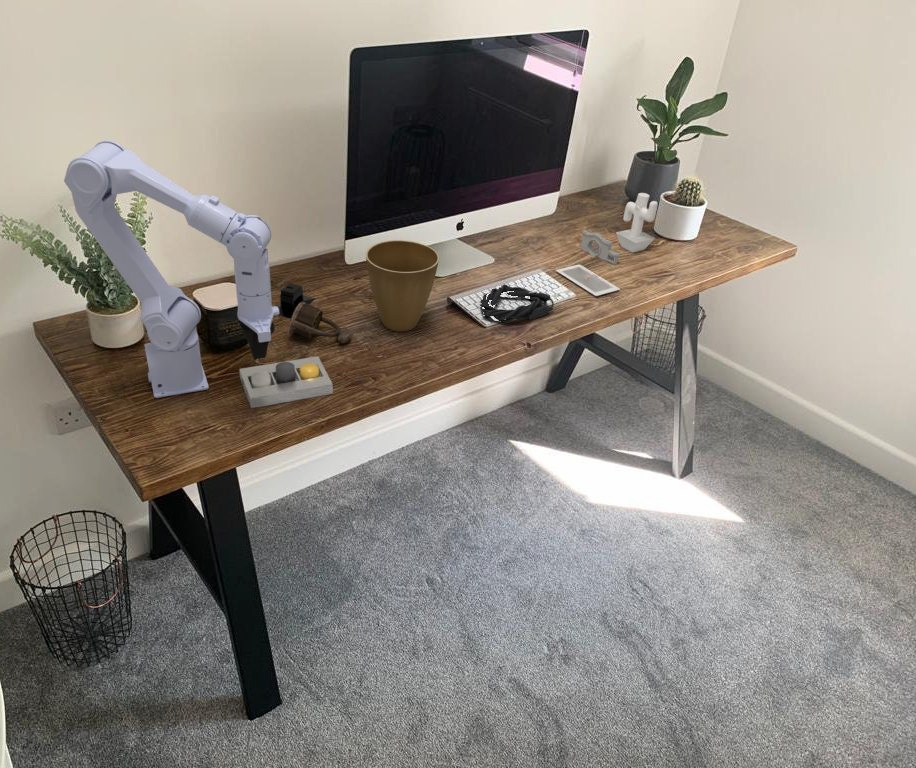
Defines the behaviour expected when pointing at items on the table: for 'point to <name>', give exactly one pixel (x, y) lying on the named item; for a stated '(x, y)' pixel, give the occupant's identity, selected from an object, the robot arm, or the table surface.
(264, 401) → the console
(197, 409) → the table surface
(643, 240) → the figurine
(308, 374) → the amber button
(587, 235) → the grey bracket plate
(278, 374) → the dark grey rounded block
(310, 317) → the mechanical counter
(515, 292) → the cable
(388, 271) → the plant pot
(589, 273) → the touchpad
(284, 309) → the black mount on base
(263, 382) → the white button
